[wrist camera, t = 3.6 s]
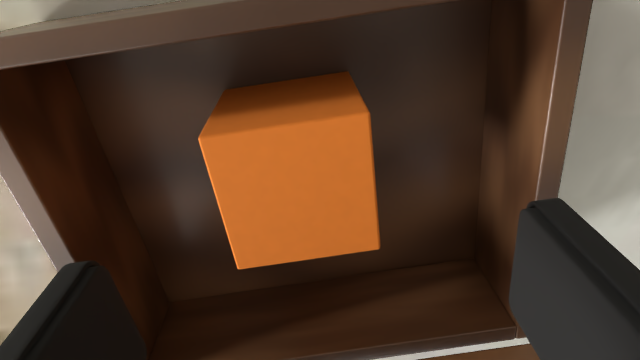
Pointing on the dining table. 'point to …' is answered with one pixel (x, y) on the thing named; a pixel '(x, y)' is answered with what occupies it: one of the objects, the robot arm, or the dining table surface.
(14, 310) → the dining table surface
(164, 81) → the chest
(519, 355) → the chest lid
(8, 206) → the dining table surface
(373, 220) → the orange cube
